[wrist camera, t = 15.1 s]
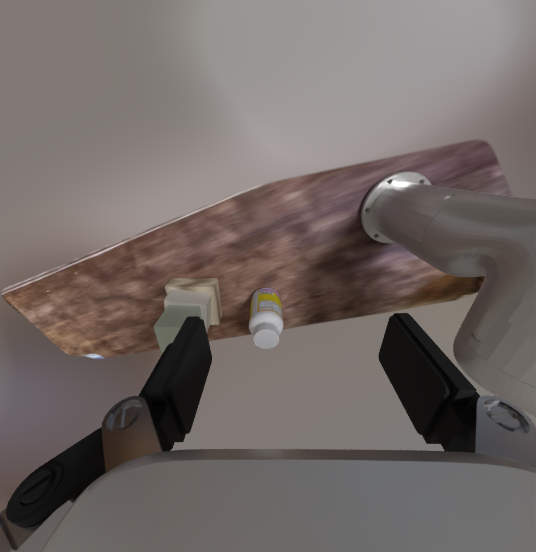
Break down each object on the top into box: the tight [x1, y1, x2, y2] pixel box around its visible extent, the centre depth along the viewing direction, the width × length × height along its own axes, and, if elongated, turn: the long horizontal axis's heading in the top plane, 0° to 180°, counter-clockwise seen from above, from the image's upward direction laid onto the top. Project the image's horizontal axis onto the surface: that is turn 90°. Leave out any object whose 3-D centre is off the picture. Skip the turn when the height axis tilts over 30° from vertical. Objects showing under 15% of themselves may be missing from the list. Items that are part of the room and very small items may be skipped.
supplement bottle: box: [249, 288, 283, 349], centre depth 43 cm, size 7×7×13 cm
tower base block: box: [165, 278, 222, 325], centre depth 48 cm, size 10×10×4 cm
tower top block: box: [164, 289, 212, 332], centre depth 44 cm, size 8×8×4 cm
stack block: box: [154, 305, 202, 353], centre depth 39 cm, size 6×6×6 cm
